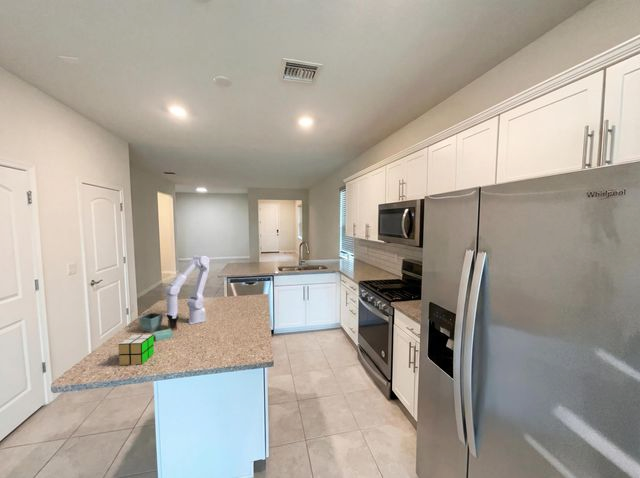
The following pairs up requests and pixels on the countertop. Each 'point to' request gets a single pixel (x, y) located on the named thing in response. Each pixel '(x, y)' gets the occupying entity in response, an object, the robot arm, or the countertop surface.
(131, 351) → the puzzle cube
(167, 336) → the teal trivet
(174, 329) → the walnut block
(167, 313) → the robot arm
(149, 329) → the flower pot
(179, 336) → the countertop surface
